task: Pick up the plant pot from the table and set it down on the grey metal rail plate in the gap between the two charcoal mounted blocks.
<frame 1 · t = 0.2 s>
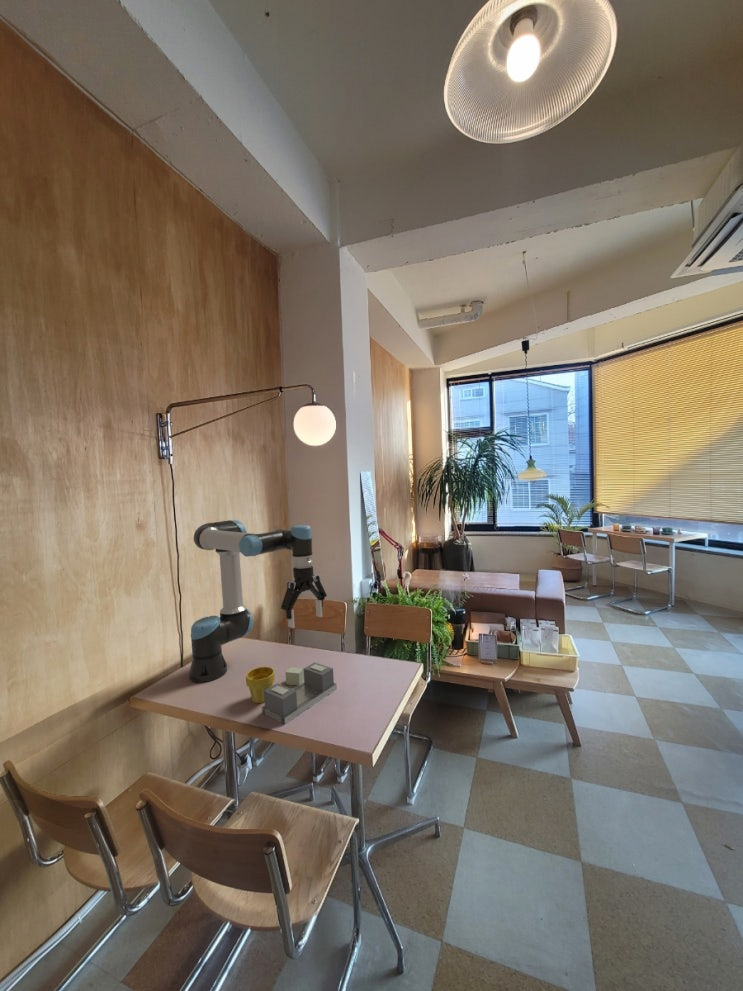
hand: (305, 621, 149), 27 cm above the table, fingers open, 13 cm apart
module near: (281, 713, 137), resting on rail
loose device: (295, 682, 158), on the table
rail: (301, 700, 144), on the table
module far: (319, 688, 152), resting on rail
plant pot: (261, 698, 147), on the table
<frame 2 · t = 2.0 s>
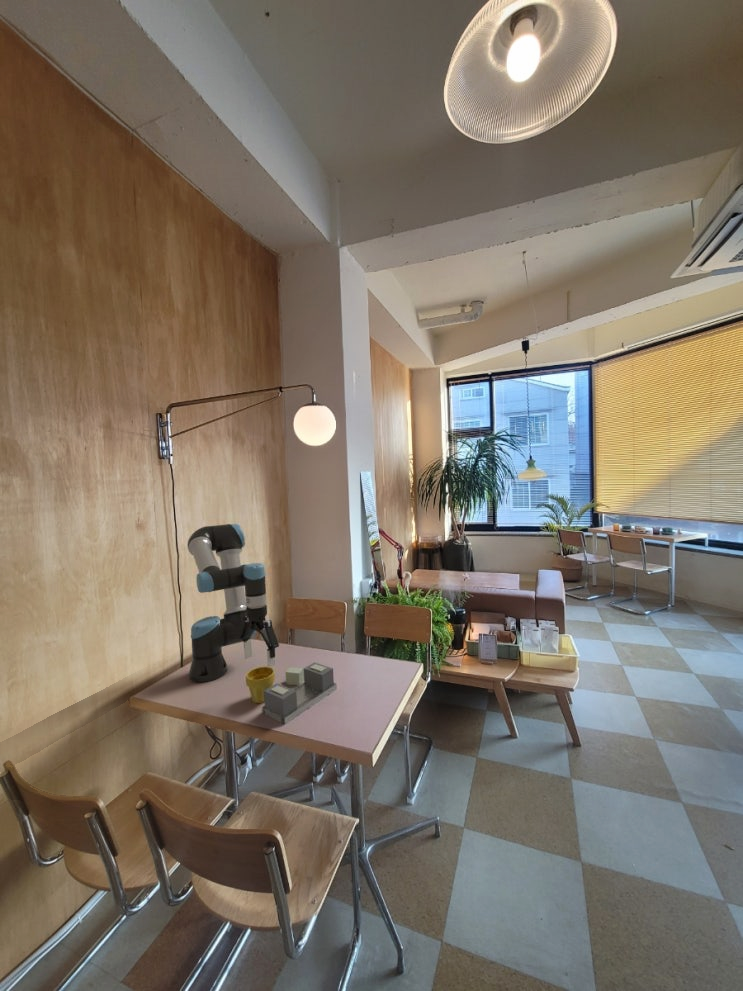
hand: (259, 661, 146), 14 cm above the table, fingers open, 13 cm apart
nothing on the table moved.
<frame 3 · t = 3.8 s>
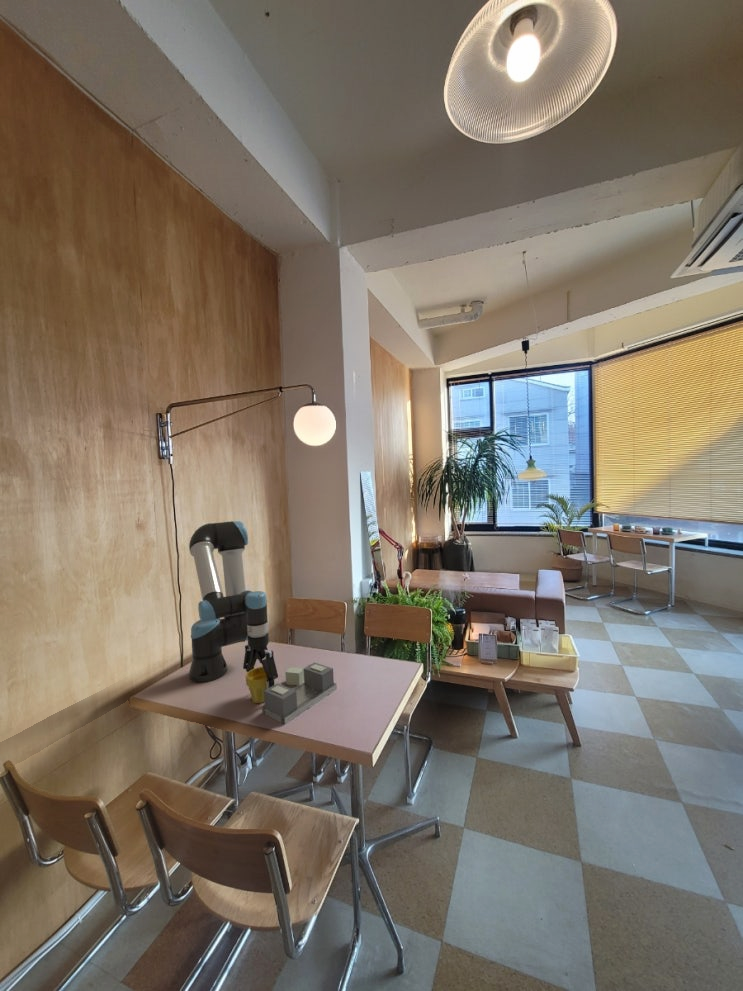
hand: (261, 692, 147), 2 cm above the table, fingers closed on plant pot, 10 cm apart
plant pot: (261, 698, 147), on the table, touching gripper
everything else where it was.
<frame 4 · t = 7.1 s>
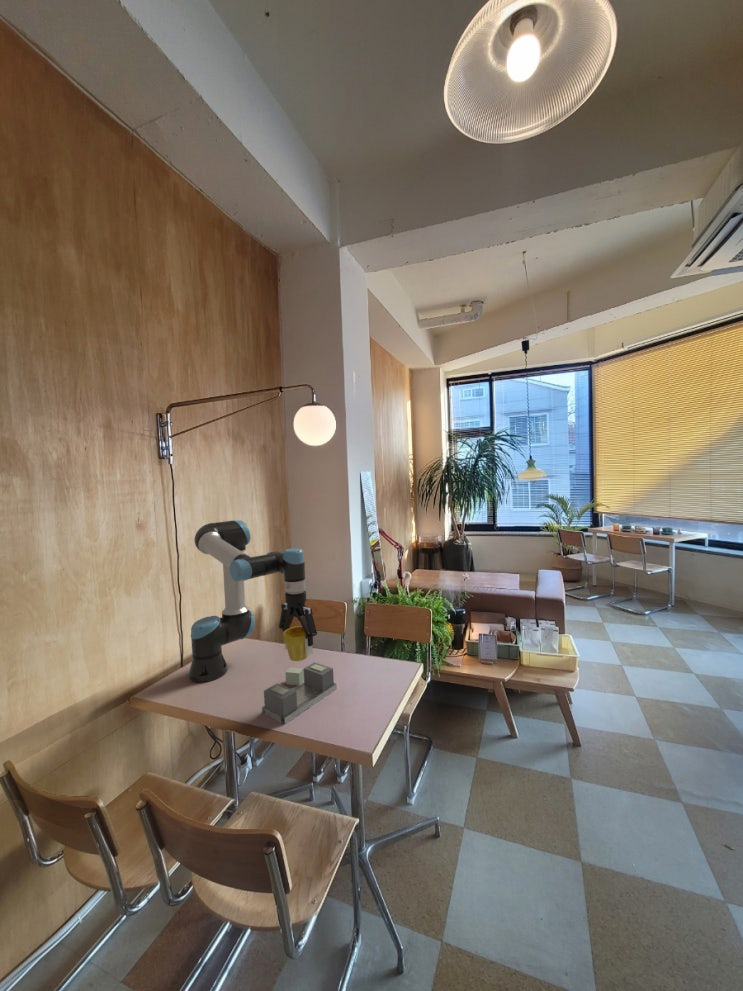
hand: (298, 651, 143), 19 cm above the table, fingers closed on plant pot, 10 cm apart
plant pot: (298, 657, 144), point 16 cm above the table, touching gripper
everything else where it was.
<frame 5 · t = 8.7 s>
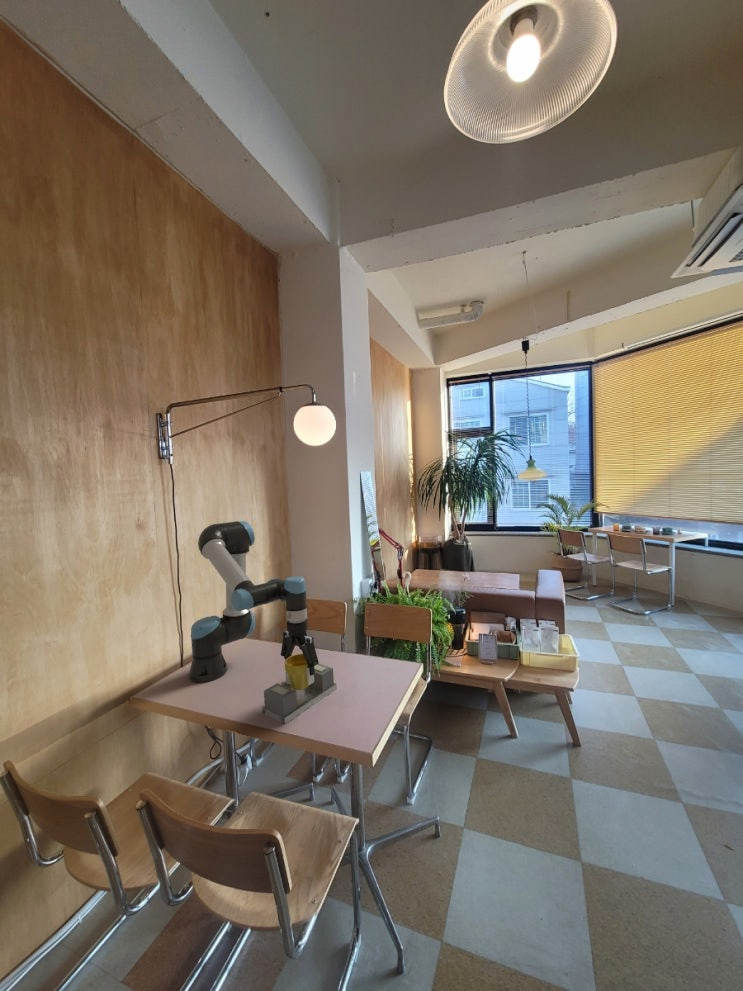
hand: (300, 679, 144), 8 cm above the table, fingers closed on plant pot, 10 cm apart
plant pot: (300, 686, 144), point 5 cm above the table, touching gripper
everything else where it was.
when the fingers open (5 cm above the table, at t = 10.4 s): plant pot stays where it is, resting on rail.
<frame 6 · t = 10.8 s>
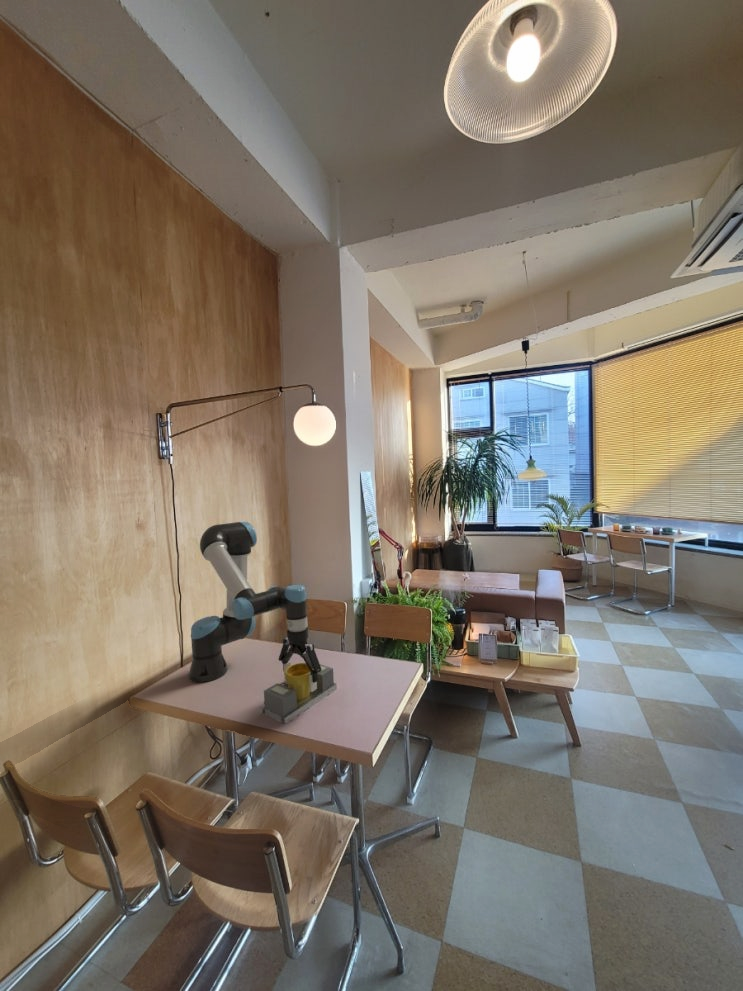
hand: (300, 685, 144), 6 cm above the table, fingers open, 13 cm apart
plant pot: (300, 695, 144), point 2 cm above the table, touching rail
everything else where it was.
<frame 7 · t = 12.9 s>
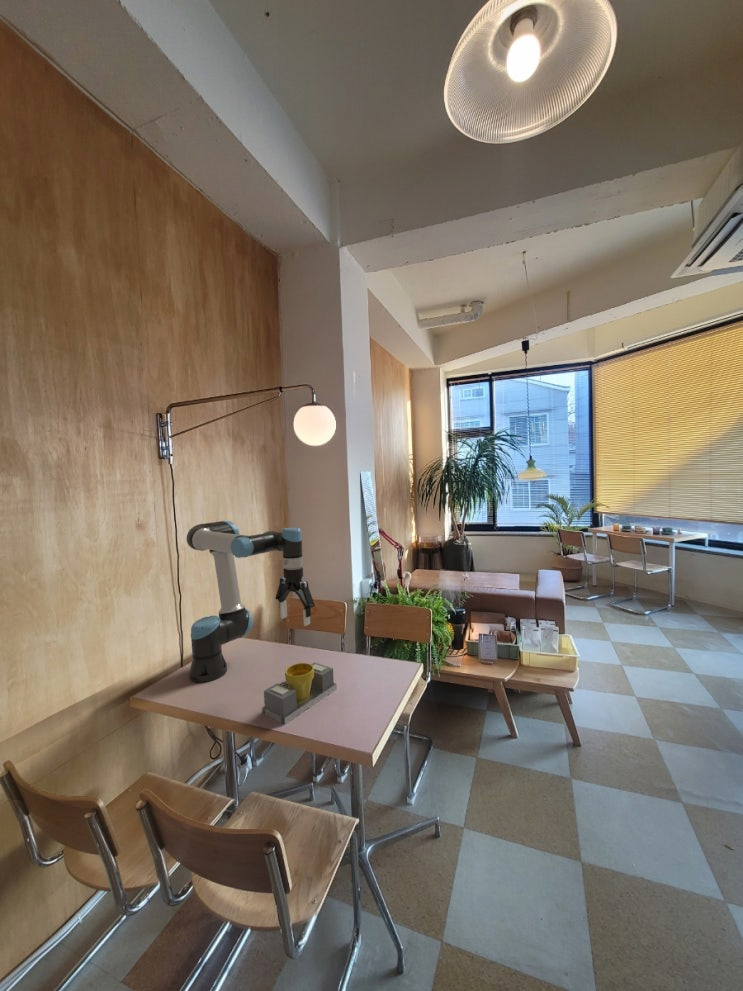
hand: (295, 621, 153), 26 cm above the table, fingers open, 13 cm apart
nothing on the table moved.
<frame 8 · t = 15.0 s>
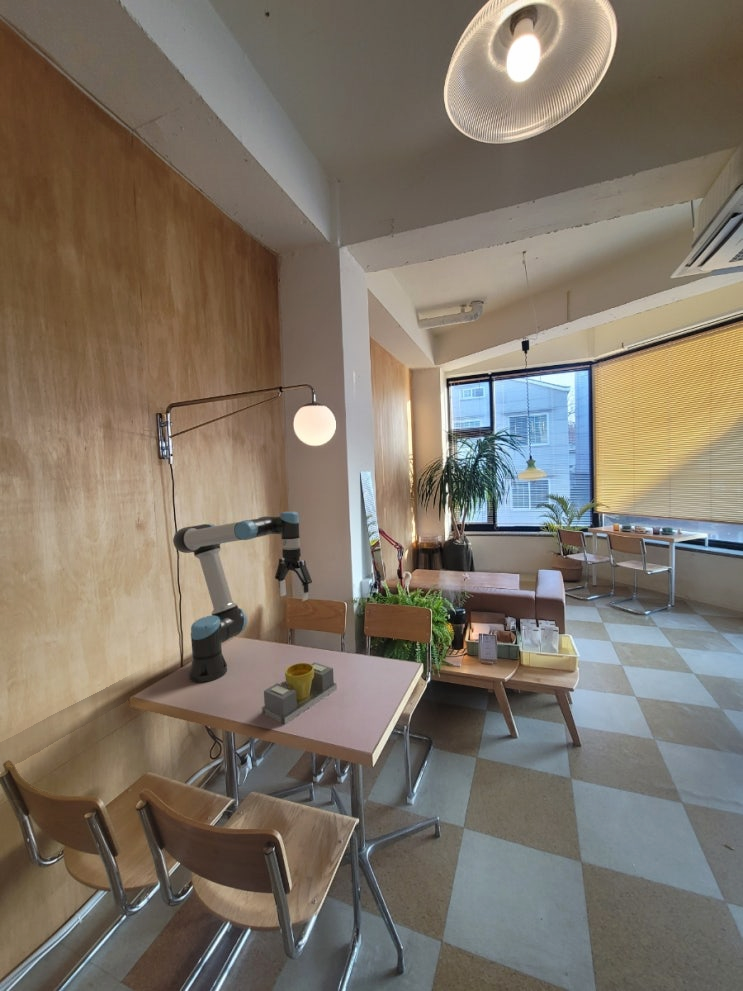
hand: (293, 597, 166), 32 cm above the table, fingers open, 13 cm apart
nothing on the table moved.
at the end: plant pot 0.0 cm from the rail (horizontally); plant pot tilted 0°; the gripper is holding nothing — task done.
